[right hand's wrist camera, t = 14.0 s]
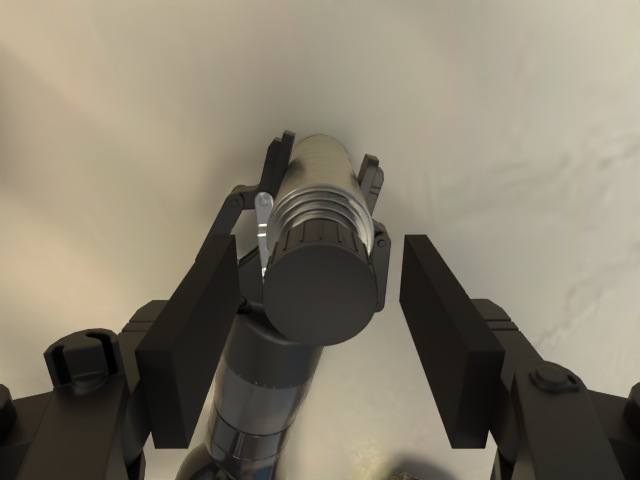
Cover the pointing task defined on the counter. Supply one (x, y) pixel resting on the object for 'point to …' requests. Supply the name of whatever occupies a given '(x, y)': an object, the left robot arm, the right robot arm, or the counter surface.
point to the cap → (319, 284)
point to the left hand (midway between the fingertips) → (330, 146)
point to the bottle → (319, 192)
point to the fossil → (404, 477)
